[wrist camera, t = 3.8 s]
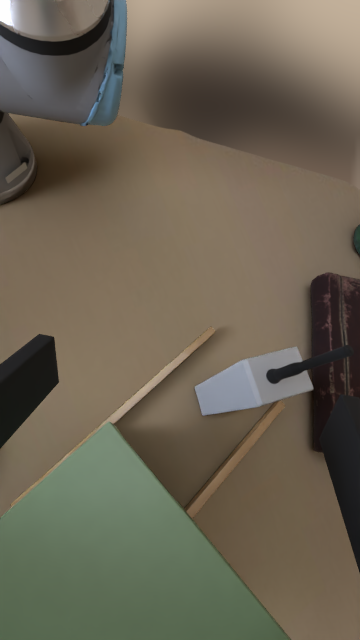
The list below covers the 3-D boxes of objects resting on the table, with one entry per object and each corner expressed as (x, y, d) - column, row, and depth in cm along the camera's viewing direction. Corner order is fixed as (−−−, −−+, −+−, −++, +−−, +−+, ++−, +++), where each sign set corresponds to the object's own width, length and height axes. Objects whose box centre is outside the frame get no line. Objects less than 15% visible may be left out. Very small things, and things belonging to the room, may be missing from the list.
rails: (13, 502, 30) (9, 505, 29) (208, 329, 41) (211, 326, 40) (101, 622, 28) (100, 630, 27) (281, 406, 39) (285, 405, 38)
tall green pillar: (36, 502, 30) (-413, 886, 5) (117, 428, 34) (109, 419, 9) (104, 594, 29) (-17, 1898, 3) (181, 505, 33) (399, 771, 7)
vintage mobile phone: (236, 405, 38) (412, 370, 15) (201, 415, 37) (336, 395, 14) (227, 377, 39) (379, 306, 16) (193, 387, 38) (306, 323, 15)
